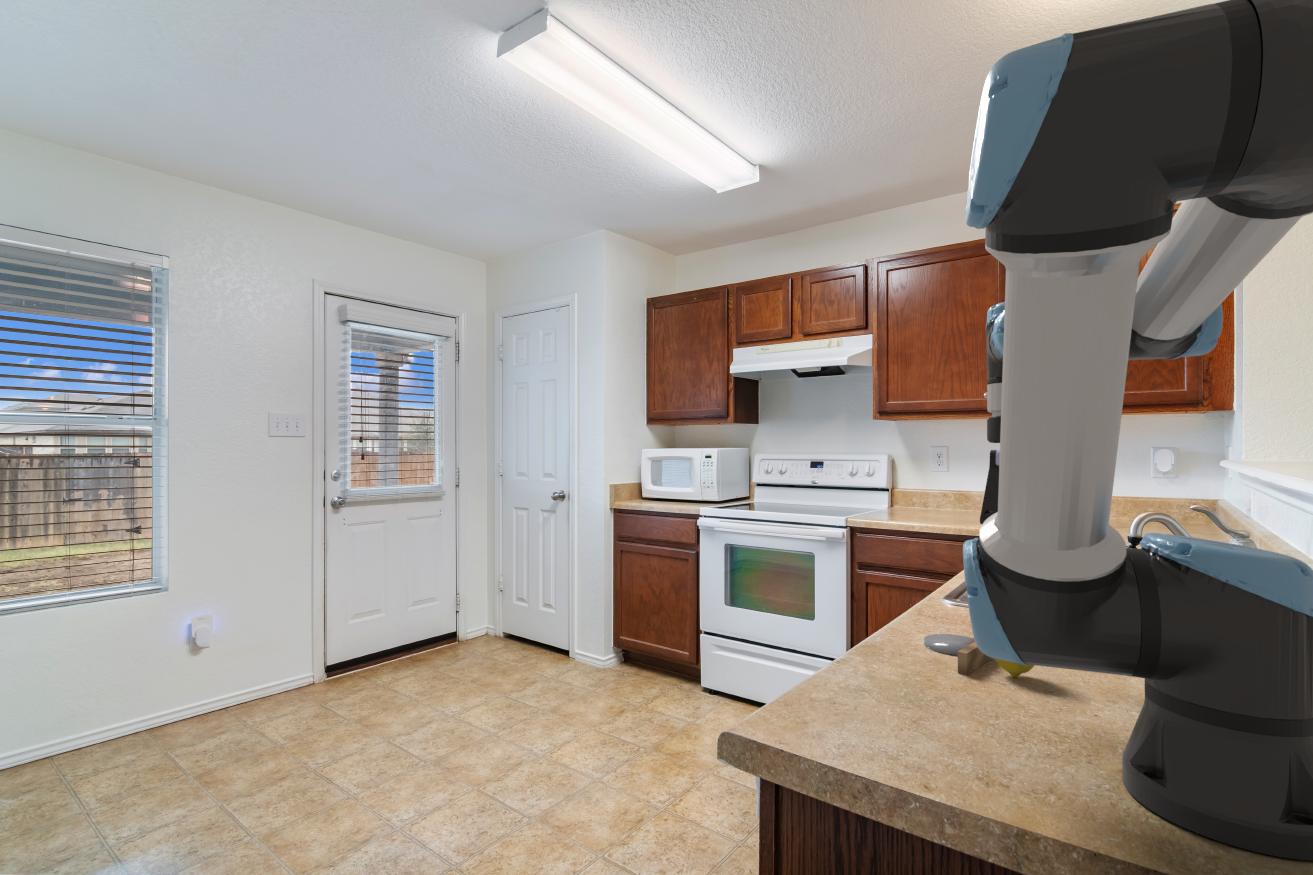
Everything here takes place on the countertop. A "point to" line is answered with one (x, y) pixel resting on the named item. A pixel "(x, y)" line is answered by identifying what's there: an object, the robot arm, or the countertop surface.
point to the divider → (971, 659)
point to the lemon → (1014, 667)
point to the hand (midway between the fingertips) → (1018, 567)
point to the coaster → (947, 643)
